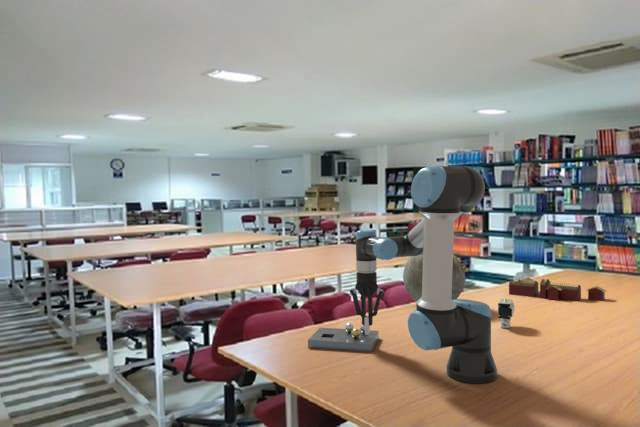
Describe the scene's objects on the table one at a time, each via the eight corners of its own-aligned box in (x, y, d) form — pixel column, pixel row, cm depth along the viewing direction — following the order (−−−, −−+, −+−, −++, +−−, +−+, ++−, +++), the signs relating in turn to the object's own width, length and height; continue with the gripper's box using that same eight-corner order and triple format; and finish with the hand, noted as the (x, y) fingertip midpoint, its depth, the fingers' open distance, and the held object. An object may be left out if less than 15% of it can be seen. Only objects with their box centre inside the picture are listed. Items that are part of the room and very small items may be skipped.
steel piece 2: (368, 334, 186) (367, 325, 186) (359, 333, 187) (359, 324, 187) (369, 331, 190) (369, 323, 189) (361, 331, 190) (360, 322, 190)
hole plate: (371, 352, 174) (371, 343, 174) (308, 347, 181) (307, 339, 180) (378, 338, 190) (378, 330, 190) (320, 334, 197) (320, 327, 197)
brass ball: (359, 339, 180) (359, 330, 180) (350, 338, 181) (350, 329, 181) (361, 336, 183) (361, 327, 183) (352, 335, 184) (352, 327, 184)
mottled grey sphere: (391, 307, 243) (390, 247, 242) (428, 297, 262) (427, 243, 261) (440, 317, 220) (440, 252, 219) (477, 306, 239) (476, 246, 238)
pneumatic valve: (497, 330, 198) (497, 301, 198) (501, 323, 208) (501, 295, 208) (512, 331, 196) (512, 302, 195) (515, 324, 206) (515, 296, 205)
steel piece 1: (352, 333, 188) (352, 324, 188) (344, 332, 189) (344, 324, 189) (354, 330, 191) (354, 322, 191) (346, 330, 192) (345, 321, 192)
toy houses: (507, 295, 265) (507, 277, 265) (519, 289, 281) (519, 272, 280) (600, 306, 236) (600, 285, 236) (608, 298, 252) (608, 279, 252)
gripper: (385, 270, 182) (386, 332, 183) (351, 269, 186) (352, 329, 187) (382, 273, 175) (383, 337, 176) (347, 272, 178) (348, 335, 179)
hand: (367, 333), depth 181 cm, fingers closed
